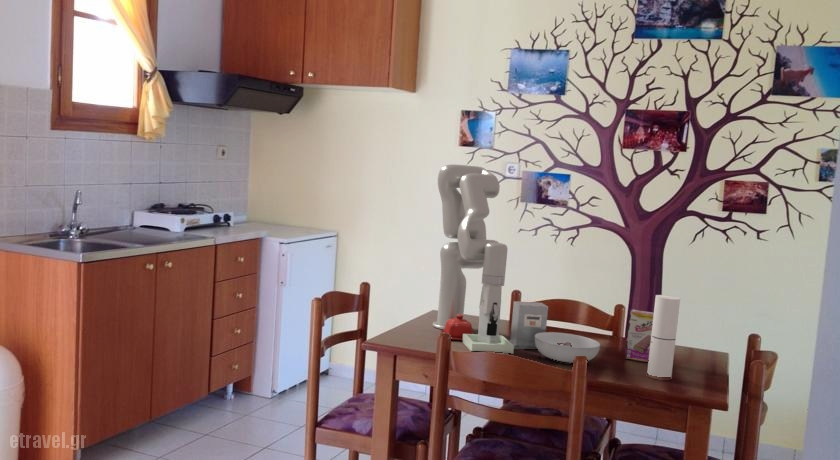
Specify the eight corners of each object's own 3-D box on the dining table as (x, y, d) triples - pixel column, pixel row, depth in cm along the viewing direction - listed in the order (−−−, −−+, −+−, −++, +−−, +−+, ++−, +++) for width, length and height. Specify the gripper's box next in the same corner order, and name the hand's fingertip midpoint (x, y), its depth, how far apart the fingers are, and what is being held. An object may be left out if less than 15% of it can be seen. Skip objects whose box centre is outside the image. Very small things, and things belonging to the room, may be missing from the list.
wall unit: (506, 342, 264) (510, 300, 263) (539, 344, 266) (543, 302, 265) (513, 349, 256) (517, 305, 254) (547, 350, 258) (552, 307, 256)
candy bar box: (624, 359, 254) (629, 311, 252) (625, 356, 258) (630, 308, 257) (659, 365, 250) (664, 316, 249) (659, 361, 255) (665, 313, 253)
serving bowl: (594, 372, 234) (597, 350, 233) (527, 361, 240) (529, 340, 239) (601, 358, 253) (603, 338, 253) (538, 348, 260) (540, 328, 259)
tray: (462, 341, 260) (462, 333, 260) (501, 343, 263) (502, 335, 262) (471, 351, 247) (472, 343, 246) (513, 353, 249) (513, 345, 249)
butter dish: (477, 343, 261) (479, 318, 261) (444, 341, 259) (446, 316, 259) (470, 335, 273) (472, 312, 272) (438, 333, 271) (440, 310, 270)
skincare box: (498, 343, 254) (502, 307, 253) (489, 344, 251) (492, 308, 250) (485, 339, 258) (489, 304, 257) (476, 340, 256) (479, 305, 255)
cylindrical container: (657, 381, 229) (666, 299, 227) (641, 374, 236) (650, 294, 234) (676, 380, 232) (685, 299, 230) (660, 373, 239) (668, 295, 237)
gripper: (476, 275, 261) (471, 326, 262) (488, 283, 244) (483, 338, 245) (497, 276, 262) (492, 327, 264) (511, 285, 245) (506, 339, 246)
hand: (488, 332), depth 254 cm, fingers closed on skincare box, 7 cm apart
